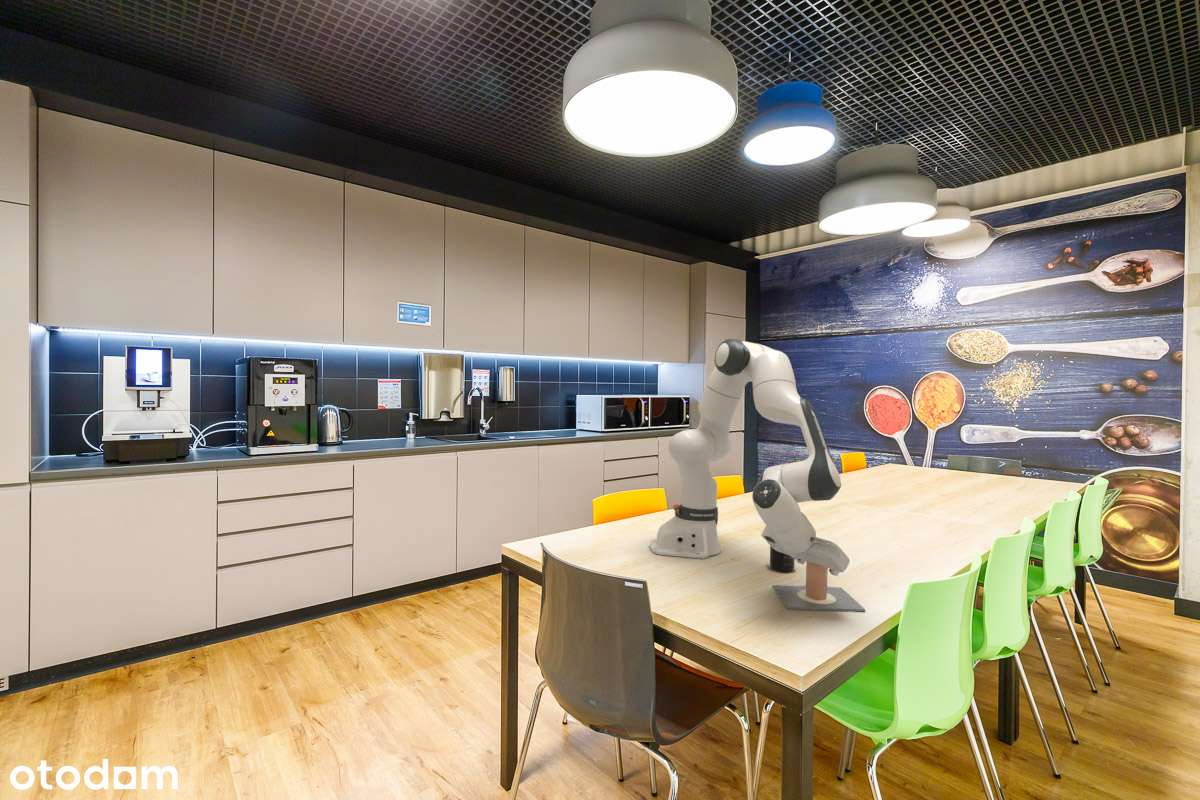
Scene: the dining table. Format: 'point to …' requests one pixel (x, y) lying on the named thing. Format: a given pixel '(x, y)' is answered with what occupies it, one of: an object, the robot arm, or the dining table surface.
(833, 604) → the card
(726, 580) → the dining table surface
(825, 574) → the terracotta tube
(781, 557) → the supplement bottle
